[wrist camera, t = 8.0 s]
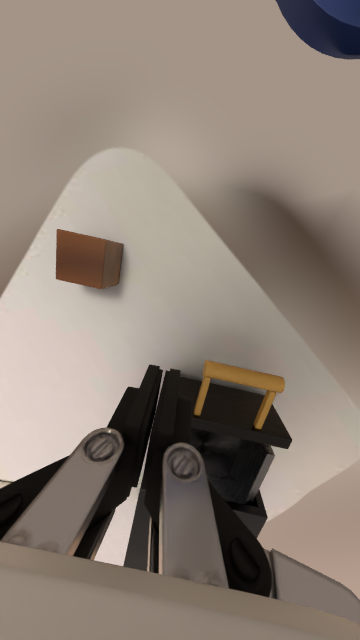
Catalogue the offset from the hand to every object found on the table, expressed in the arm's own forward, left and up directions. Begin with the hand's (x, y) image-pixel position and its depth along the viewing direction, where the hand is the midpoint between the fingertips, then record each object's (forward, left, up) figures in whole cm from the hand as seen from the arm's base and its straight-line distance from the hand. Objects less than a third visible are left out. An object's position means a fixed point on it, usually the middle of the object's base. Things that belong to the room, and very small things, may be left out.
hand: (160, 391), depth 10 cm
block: (-5, -10, -13) cm, 17 cm away
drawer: (+11, +7, -12) cm, 18 cm away
